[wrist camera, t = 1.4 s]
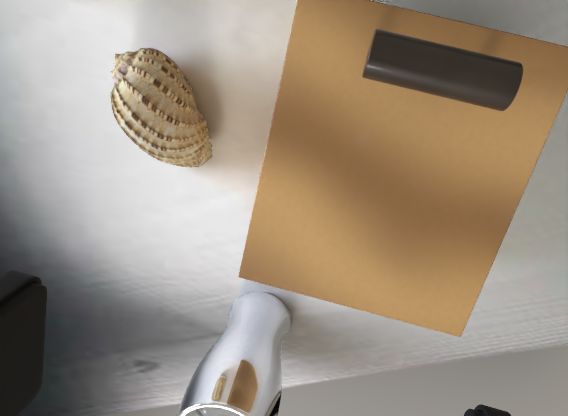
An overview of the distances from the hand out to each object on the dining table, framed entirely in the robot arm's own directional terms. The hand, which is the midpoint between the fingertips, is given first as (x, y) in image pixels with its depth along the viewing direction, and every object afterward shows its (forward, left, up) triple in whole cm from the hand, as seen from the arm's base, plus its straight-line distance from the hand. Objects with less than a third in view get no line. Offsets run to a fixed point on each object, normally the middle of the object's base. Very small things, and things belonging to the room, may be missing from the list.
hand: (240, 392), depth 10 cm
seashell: (-10, -8, -30) cm, 33 cm away
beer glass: (+9, -17, -30) cm, 36 cm away
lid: (+3, +3, -18) cm, 18 cm away
